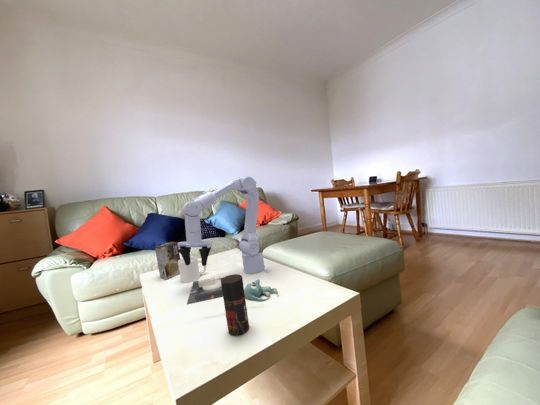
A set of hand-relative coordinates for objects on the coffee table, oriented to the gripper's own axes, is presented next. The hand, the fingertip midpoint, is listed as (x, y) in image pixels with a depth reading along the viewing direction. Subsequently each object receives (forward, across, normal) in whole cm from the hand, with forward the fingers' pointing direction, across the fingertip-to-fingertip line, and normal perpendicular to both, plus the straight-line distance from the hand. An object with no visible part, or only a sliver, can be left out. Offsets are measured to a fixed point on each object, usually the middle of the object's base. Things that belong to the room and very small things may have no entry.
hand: (196, 265), depth 95 cm
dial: (+10, +5, 0) cm, 11 cm away
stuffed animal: (+10, +28, -3) cm, 30 cm away
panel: (+11, +7, +1) cm, 13 cm away
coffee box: (+12, -27, +17) cm, 34 cm away
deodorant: (+11, +27, -21) cm, 36 cm away
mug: (+11, -9, +12) cm, 18 cm away
